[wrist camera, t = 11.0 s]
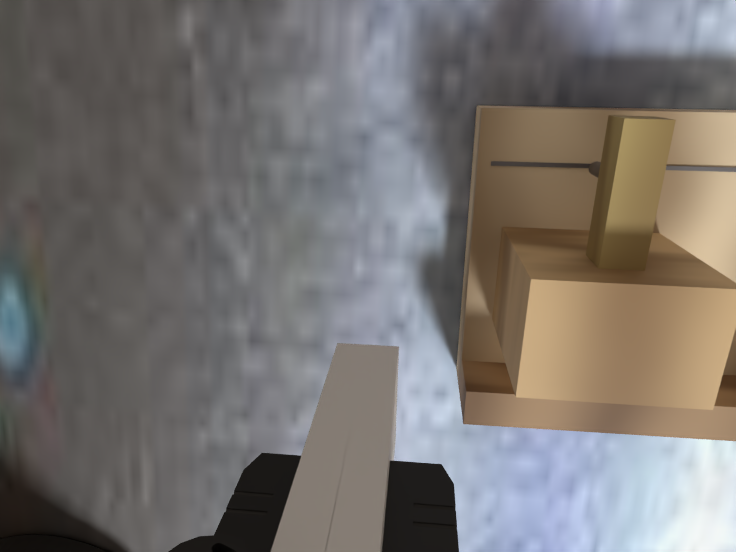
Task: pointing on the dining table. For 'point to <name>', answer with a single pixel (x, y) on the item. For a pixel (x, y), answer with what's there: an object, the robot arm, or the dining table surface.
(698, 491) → the dining table surface
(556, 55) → the dining table surface
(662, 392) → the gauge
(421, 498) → the robot arm
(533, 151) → the board
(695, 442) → the dining table surface
